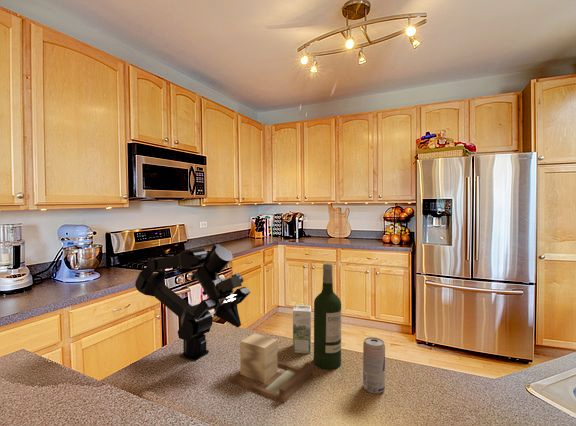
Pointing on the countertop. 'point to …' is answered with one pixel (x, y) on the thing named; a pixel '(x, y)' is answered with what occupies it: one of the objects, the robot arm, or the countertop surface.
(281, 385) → the tray
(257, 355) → the maple block
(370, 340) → the energy drink
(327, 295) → the wine bottle
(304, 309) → the syrup box
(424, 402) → the countertop surface
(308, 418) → the countertop surface
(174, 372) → the countertop surface
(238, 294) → the robot arm
